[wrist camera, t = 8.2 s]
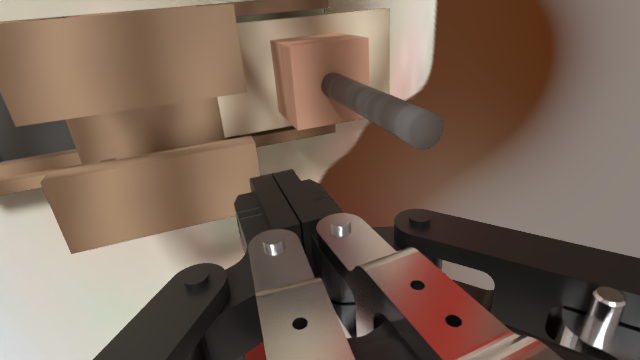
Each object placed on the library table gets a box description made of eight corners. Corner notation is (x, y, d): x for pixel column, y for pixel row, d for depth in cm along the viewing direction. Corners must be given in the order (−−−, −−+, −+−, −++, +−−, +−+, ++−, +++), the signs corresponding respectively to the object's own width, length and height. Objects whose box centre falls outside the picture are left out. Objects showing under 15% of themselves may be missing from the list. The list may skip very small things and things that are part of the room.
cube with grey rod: (223, 134, 34) (272, 254, 18) (202, 26, 30) (241, 51, 14) (384, 106, 39) (543, 181, 22) (384, 8, 35) (577, 11, 18)
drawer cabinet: (-20, 188, 31) (-139, 303, 19) (-102, 30, 26) (-338, 52, 14) (326, 125, 39) (395, 178, 27) (317, -5, 34) (397, -10, 22)
